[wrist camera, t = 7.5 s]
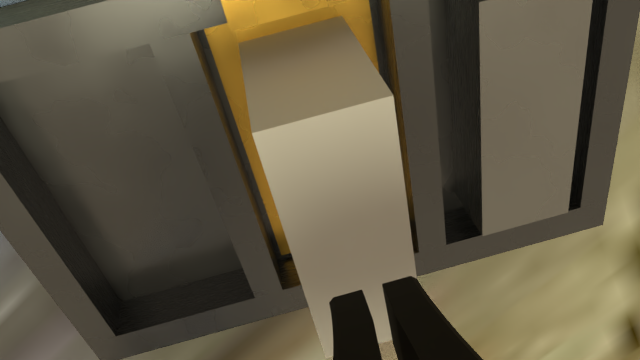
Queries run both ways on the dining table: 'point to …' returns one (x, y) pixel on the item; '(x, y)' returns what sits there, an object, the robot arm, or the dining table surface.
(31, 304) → the dining table surface
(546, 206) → the rack
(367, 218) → the tall cream block
